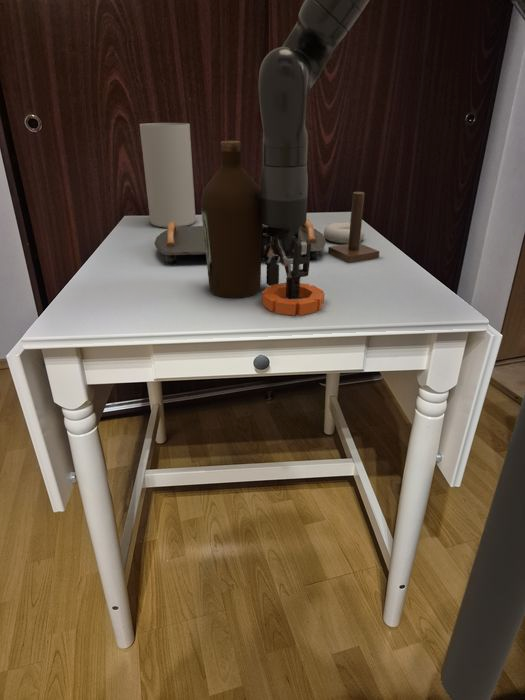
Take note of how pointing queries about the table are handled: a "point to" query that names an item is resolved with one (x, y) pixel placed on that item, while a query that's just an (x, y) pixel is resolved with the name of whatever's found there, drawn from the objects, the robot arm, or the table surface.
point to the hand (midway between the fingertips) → (282, 290)
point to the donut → (339, 232)
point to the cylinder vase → (168, 173)
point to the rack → (354, 236)
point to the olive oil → (232, 227)
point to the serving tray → (193, 241)
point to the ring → (307, 305)
